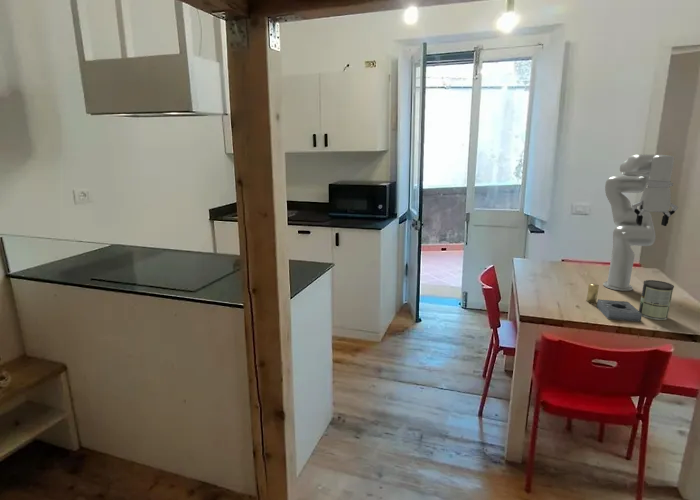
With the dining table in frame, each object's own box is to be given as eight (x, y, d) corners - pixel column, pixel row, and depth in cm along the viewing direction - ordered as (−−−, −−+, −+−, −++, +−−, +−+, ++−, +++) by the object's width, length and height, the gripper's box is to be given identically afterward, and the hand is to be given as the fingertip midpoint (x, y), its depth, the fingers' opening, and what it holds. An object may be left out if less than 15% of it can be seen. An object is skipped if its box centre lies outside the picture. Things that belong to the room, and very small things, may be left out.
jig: (596, 306, 188) (597, 299, 187) (626, 309, 185) (627, 301, 185) (608, 318, 175) (609, 310, 174) (640, 321, 172) (642, 313, 171)
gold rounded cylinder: (585, 299, 197) (587, 283, 195) (594, 300, 196) (597, 283, 194) (587, 302, 193) (590, 285, 191) (597, 303, 192) (600, 286, 190)
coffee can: (632, 310, 184) (637, 279, 180) (655, 310, 184) (661, 279, 181) (649, 320, 174) (655, 287, 170) (673, 320, 174) (680, 287, 171)
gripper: (676, 185, 182) (669, 224, 186) (632, 183, 185) (625, 222, 189) (686, 186, 175) (678, 227, 179) (639, 185, 178) (632, 225, 182)
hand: (651, 224), depth 184 cm, fingers open, 9 cm apart
